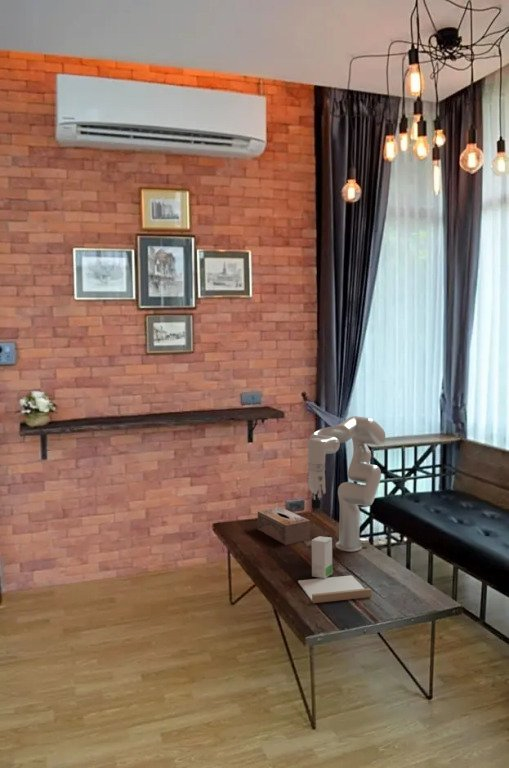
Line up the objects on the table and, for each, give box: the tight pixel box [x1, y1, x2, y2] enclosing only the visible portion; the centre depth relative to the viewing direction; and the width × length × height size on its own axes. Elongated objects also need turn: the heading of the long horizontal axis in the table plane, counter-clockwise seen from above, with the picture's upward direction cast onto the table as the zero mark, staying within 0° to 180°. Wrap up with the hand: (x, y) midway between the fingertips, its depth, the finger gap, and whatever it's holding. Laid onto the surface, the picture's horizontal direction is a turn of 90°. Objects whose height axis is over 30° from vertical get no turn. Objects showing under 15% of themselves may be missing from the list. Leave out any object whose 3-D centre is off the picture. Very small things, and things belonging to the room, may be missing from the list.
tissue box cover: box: [257, 506, 311, 546], centre depth 306 cm, size 26×14×10 cm, turn 32°
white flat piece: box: [297, 575, 372, 604], centre depth 243 cm, size 24×19×3 cm
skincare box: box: [311, 535, 333, 579], centre depth 256 cm, size 8×7×16 cm
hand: (315, 507), depth 262 cm, fingers closed
